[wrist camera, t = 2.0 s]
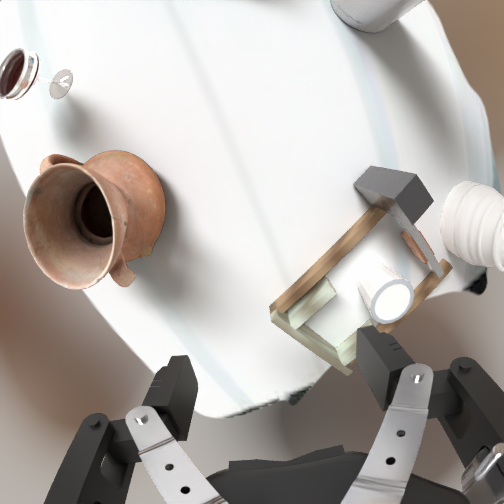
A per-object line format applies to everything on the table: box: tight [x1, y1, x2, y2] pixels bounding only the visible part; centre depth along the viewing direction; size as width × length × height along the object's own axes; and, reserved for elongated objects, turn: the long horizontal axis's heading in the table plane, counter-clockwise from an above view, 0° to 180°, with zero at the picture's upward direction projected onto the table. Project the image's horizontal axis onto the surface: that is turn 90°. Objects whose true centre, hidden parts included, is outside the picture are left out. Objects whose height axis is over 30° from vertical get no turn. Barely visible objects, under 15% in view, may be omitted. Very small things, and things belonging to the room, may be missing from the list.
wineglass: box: [0, 48, 73, 100], centre depth 21 cm, size 7×7×12 cm
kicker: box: [353, 166, 444, 278], centre depth 30 cm, size 4×20×11 cm, turn 48°
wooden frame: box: [269, 205, 452, 376], centre depth 37 cm, size 25×18×4 cm
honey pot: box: [440, 181, 504, 272], centre depth 26 cm, size 13×13×18 cm
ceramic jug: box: [23, 150, 165, 290], centre depth 27 cm, size 18×14×14 cm
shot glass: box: [357, 263, 414, 324], centre depth 35 cm, size 7×7×7 cm
